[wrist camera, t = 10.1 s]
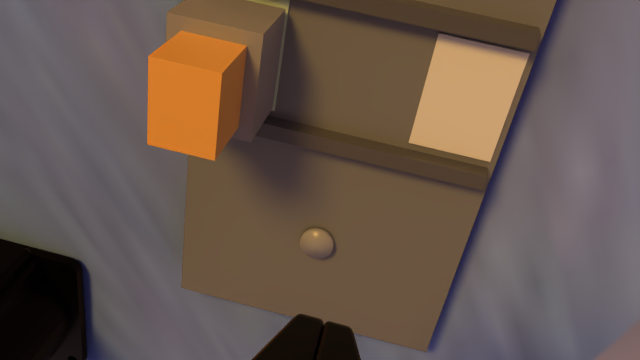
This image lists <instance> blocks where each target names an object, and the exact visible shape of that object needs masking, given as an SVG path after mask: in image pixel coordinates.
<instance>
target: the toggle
mask: <svg viewBox="0 0 640 360" xmlns="http://www.w3.org/2000/svg"><path fill="white" fill-rule="evenodd" d="M285 11H286V9H283V8H279V7H274V6H270V5H265V4H261V3H256V2H252V1H247V0H184V1H183V2H181V3H180V4H178V5H177V6H175V7H174V8H173V9H171V10H170V11H168V12H167V26H166V43H165V44H163V45H162V46H161V47H159V48H158V49H157V50H156V51H154V52H153V53H152V54H151V55H149V58H148V135H147V144H148V145H152V146H156V147H160V148H164V149H168V150H172V151H176V152H181V153H185V154H189V155H193V156H197V157H201V158H205V159H209V160H213V161H215V160H216V159H217V157H218V156H219V154H220V153H221V151H222V150H223V149H224V147H225V146H226V144H227V143H228V141H229V140H230V139H231V138H234V139H239V140H243V141H247V142H252V140H253V138H254V137H255V135H256V134H257V132H258V130H259V129H260V127H261V126H262V124H263V122H264V121H265V119H266V118H267V116H268V114H269V113H270V111H271V110H272V108H273V100H274V93H275V86H276V78H277V71H278V63H279V56H280V48H281V41H282V33H283V26H284V18H285Z"/></svg>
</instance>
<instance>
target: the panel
mask: <svg viewBox="0 0 640 360" xmlns="http://www.w3.org/2000/svg"><path fill="white" fill-rule="evenodd" d="M247 1H252V2H256V3H261V4H265V5H270V6H274V7H279V8H283V9H286V11H285V18H284V26H283V33H282V41H281V48H280V56H279V63H278V71H277V78H276V86H275V93H274V100H273V108H272V110H271V111H270V113H269V114H268V116H267V118H266V119H265V121H264V122H263V124H262V126H261V127H260V129H259V130H258V132H257V134H256V135H255V137H254V138H253V140H252V142H247V141H243V140H239V139H234V138H231V139H230V140H229V141H228V143H227V144H226V146H225V147H224V149H223V150H222V151H221V153H220V154H219V156H218V157H217V159H216V160H215V161H213V160H209V159H205V158H201V157H197V156H193V155H189V156H188V174H187V192H186V210H185V229H184V247H183V265H182V283H181V288H184V289H188V290H192V291H196V292H200V293H204V294H207V295H211V296H215V297H219V298H223V299H226V300H230V301H234V302H238V303H242V304H245V305H249V306H253V307H257V308H261V309H264V310H268V311H272V312H276V313H280V314H284V315H287V316H291V317H295V316H296V315H298V314H305V315H309V316H313V317H316V318H320V319H322V320H323V322H324V324H325V323H326V322H327V321H331V322H335V323H339V324H343V325H346V326H349V327H351V328H352V330H353V333H356V334H360V335H364V336H367V337H371V338H375V339H379V340H383V341H386V342H390V343H394V344H398V345H402V346H405V347H409V348H413V349H417V350H421V351H424V352H426V351H427V348H428V345H429V343H430V340H431V337H432V335H433V332H434V329H435V326H436V324H437V321H438V318H439V316H440V313H441V310H442V308H443V305H444V302H445V300H446V297H447V294H448V291H449V289H450V286H451V283H452V281H453V278H454V275H455V273H456V270H457V267H458V265H459V262H460V259H461V256H462V254H463V251H464V248H465V246H466V243H467V240H468V238H469V235H470V232H471V230H472V227H473V224H474V221H475V219H476V216H477V213H478V211H479V208H480V205H481V203H482V200H483V197H484V195H485V192H486V189H487V186H488V184H489V181H490V178H491V176H492V173H493V170H494V168H495V165H496V162H497V159H498V157H499V154H500V151H501V149H502V146H503V143H504V141H505V138H506V135H507V133H508V130H509V127H510V124H511V122H512V119H513V116H514V114H515V111H516V108H517V106H518V103H519V100H520V98H521V95H522V92H523V89H524V87H525V84H526V81H527V79H528V76H529V73H530V71H531V68H532V65H533V63H534V60H535V57H536V54H537V52H538V49H539V46H540V44H541V41H542V38H543V36H544V33H545V30H546V28H547V25H548V22H549V19H550V17H551V14H552V11H553V9H554V6H555V3H556V1H557V0H247Z"/></svg>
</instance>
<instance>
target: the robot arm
mask: <svg viewBox="0 0 640 360" xmlns="http://www.w3.org/2000/svg"><path fill="white" fill-rule="evenodd" d="M68 269H69V270H68ZM323 326H324V327H323ZM86 359H87V347H86V331H85V314H84V298H83V282H82V268H81V265H80V264H79V263H78V262H77V261H76V260H75V259H72V258H70V257H66V256H62V255H59V254H55V253H51V252H47V251H43V250H39V249H36V248H32V247H28V246H24V245H20V244H17V243H13V242H9V241H5V240H1V239H0V360H86ZM252 360H361V359H360V355H359V351H358V348H357V344H356V340H355V337H354V333H353V330H352V328H351V327H349V326H346V325H343V324H339V323H335V322H331V321H327V322H326V323H325V324H324V322H323V320H322V319H320V318H316V317H313V316H309V315H305V314H298V315H296V316H295V317H294V318H293V319H292V320H291V321H290V322H289V323H288V324H287V325H286V326H285V327H284V328H283V329H282V330H281V331H280V332H279V333H278V334H277V335H276V336H275V337H274V338H273V339H272V340H271V341H270V342H269V343H268V344H267V345H266V346H265V347H264V348H263V349H262V350H261V351H260V352H259V353H258V354H257V355H256V356H255V357H254V358H253V359H252Z"/></svg>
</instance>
